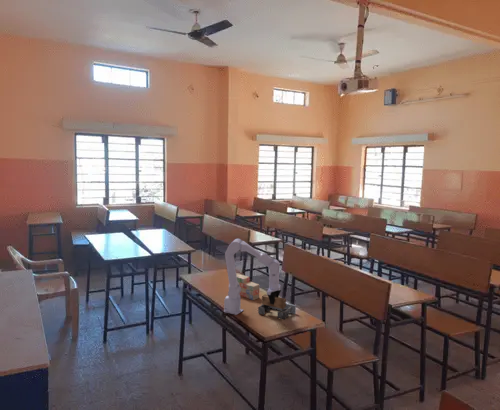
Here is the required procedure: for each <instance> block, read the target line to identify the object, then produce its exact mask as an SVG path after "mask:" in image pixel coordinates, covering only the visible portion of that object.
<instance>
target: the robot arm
mask: <svg viewBox="0 0 500 410" xmlns="http://www.w3.org/2000/svg"><path fill="white" fill-rule="evenodd" d="M239 252H247V253H248V254H250V255H252V256H253V257H255V258H257V261H258V262H260V263H261V264H262V265H264V266H265V267H267V268H268V269H269V274H268V275H269V277H268V282H269V283H268V289H267V291H266V295H268V297H269V300H270V304H274V301H275V297H280V294H281V292H282V290H281V288H282V284H280V267H281V265H280V262H279V260H278V259H276V258H274V257H273V258H272V257H271V256H269V255H268V253H267V252H265V253H264V252H260V251H259V250H257V249H255V248H254V247H252V246H251V245H250V244H248V242H246V241H245V240H242V239H241V238H235V239H233V240H232V241H231V243H230V244H229V245H228V246H227V248H226V250H225V253H224V258H225V264H226V271H227V278H228V291H227V295H226V296H225V298H224V300H223V303H224V304H223V312H224V313H226V314H231V315H235V316H237V315H239V314H240V313H241V312H244V309H243V308H241V307H242V306H241V300H242V298H241V297H242V296H240V294H239V293H240V292H241V287H240V286H239V282H238V281H237V275H236V274H237V268H236V263H235V254H236V253H239Z"/></svg>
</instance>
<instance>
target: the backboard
mask: <svg viewBox="0 0 500 410" xmlns="http://www.w3.org/2000/svg"><path fill="white" fill-rule="evenodd" d="M271 308H272V310H276V309H277V310H276V311H280V310H281V311H280V312H282V309H281V308H276V307H272V306H270V309H271ZM285 308H287V309H289V314H294V315H296V311H297V310H296V308H297V306H296V304H295V305H294V304H292V303H287V302H286V307H285Z"/></svg>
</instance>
